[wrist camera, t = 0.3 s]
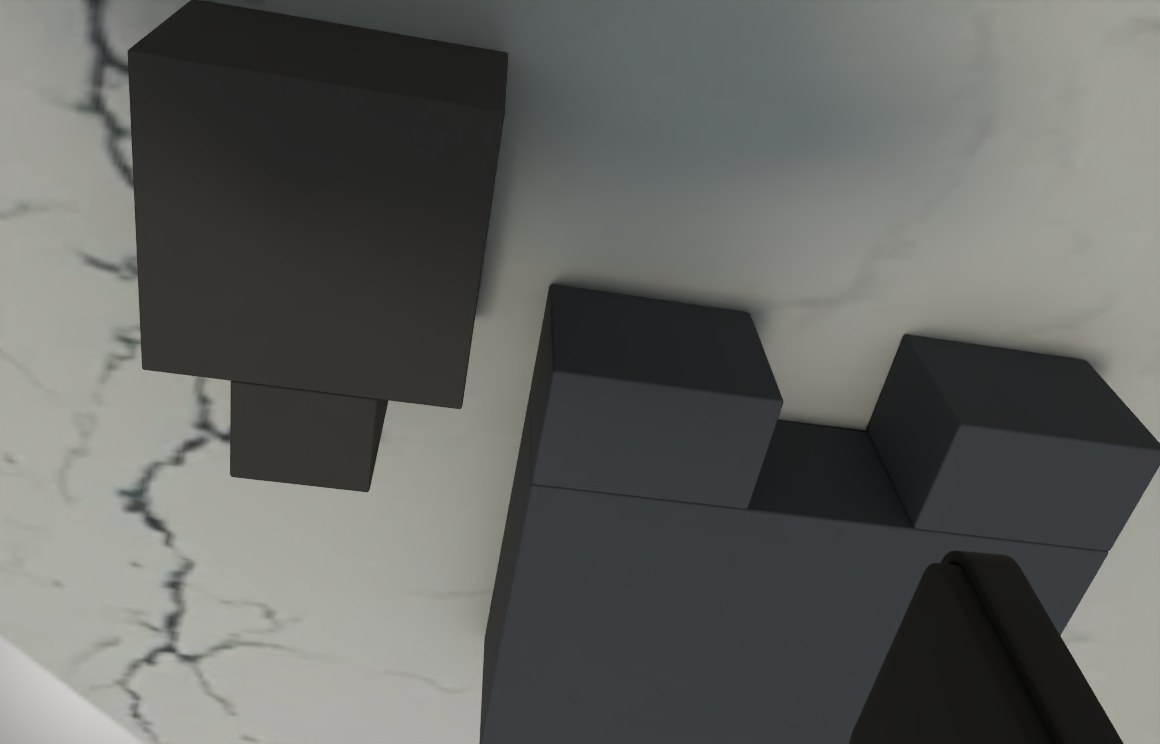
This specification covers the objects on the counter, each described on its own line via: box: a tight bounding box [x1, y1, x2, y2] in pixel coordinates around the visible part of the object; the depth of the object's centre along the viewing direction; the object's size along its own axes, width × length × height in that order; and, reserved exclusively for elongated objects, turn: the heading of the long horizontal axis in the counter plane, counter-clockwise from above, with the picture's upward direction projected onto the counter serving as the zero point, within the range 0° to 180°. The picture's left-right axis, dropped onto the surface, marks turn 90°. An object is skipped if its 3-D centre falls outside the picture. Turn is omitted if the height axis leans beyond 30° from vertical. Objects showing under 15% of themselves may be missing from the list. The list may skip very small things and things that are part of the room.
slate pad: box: [480, 285, 1160, 744], centre depth 27 cm, size 12×14×4 cm
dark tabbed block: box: [128, 0, 508, 492], centre depth 22 cm, size 9×6×4 cm
